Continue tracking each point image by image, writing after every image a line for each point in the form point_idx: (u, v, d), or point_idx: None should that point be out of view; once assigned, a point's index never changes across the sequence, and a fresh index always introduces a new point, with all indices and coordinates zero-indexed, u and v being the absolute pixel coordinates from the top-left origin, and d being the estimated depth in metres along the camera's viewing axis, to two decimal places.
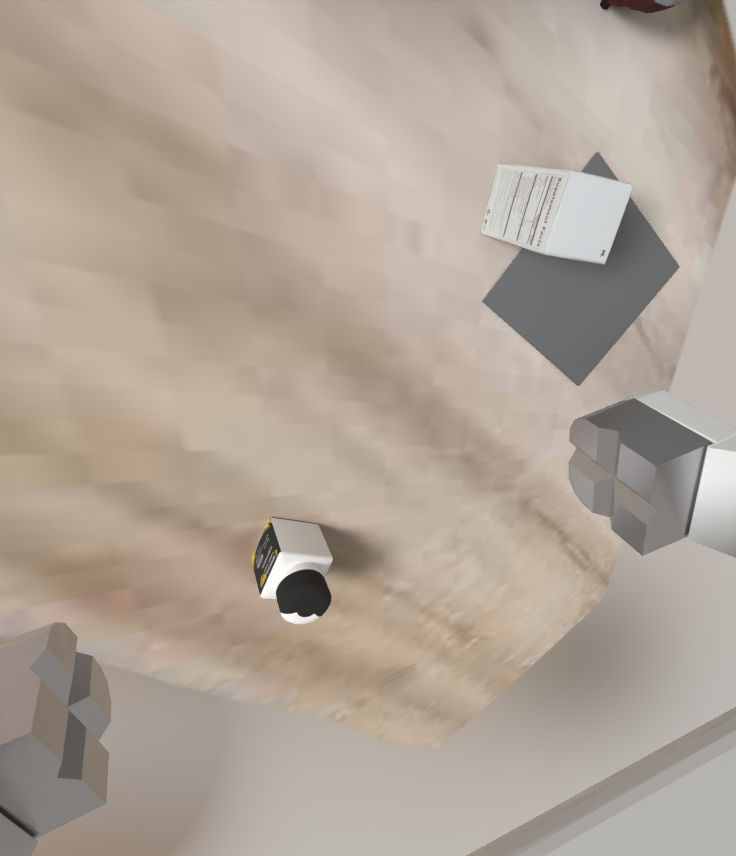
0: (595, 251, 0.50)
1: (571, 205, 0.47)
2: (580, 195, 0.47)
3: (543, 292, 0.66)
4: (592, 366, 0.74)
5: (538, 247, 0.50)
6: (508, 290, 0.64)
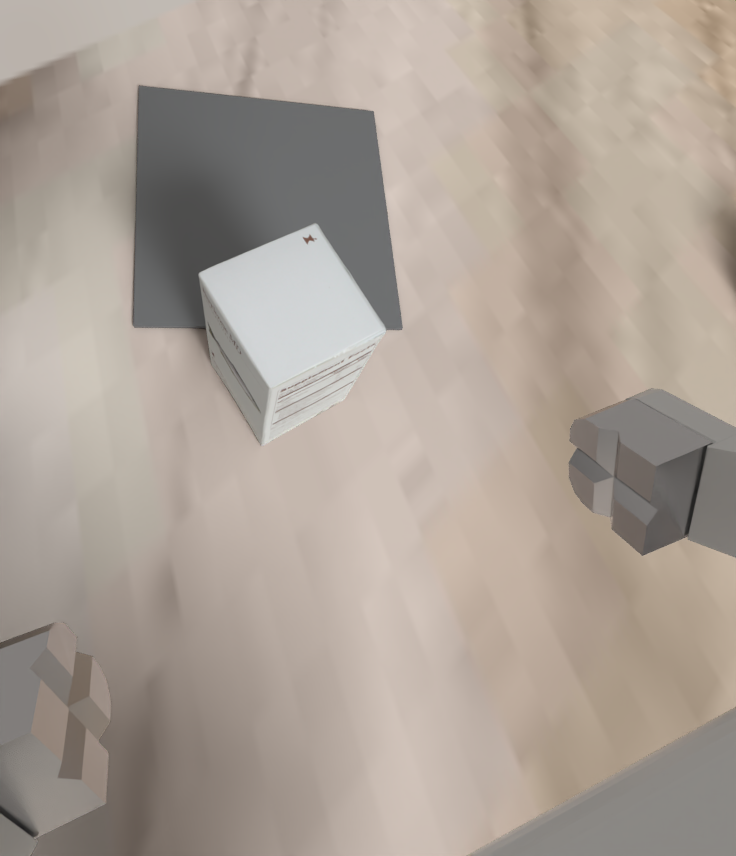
0: (318, 253, 0.28)
1: (305, 348, 0.27)
2: (283, 344, 0.27)
3: None
4: (339, 111, 0.48)
5: (376, 342, 0.29)
6: None
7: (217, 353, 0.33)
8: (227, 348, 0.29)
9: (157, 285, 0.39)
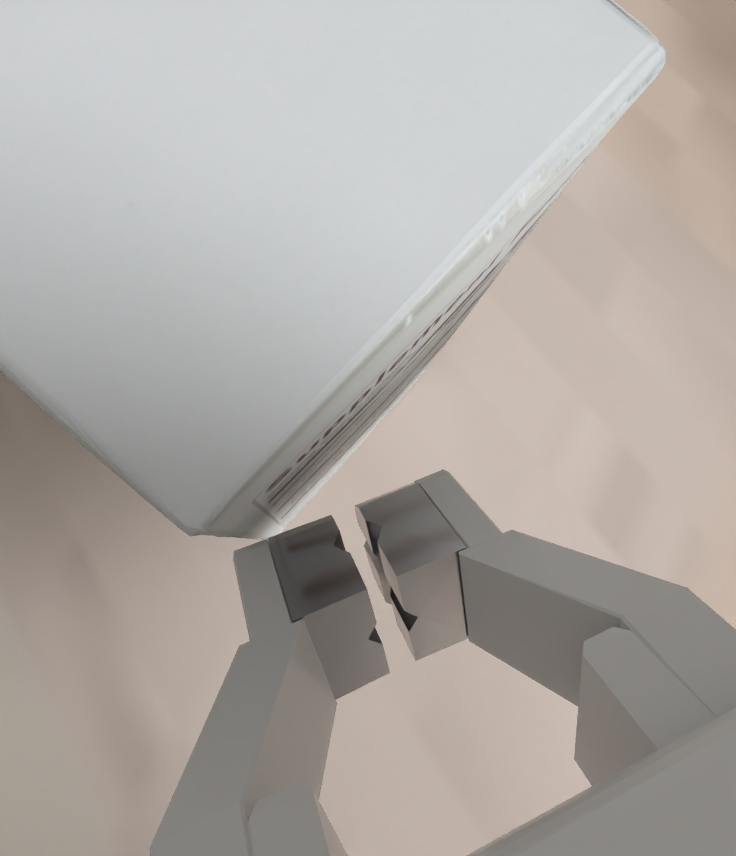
0: None
1: (327, 231, 0.05)
2: (195, 245, 0.04)
3: None
4: None
5: (596, 144, 0.07)
6: None
7: None
8: None
9: None
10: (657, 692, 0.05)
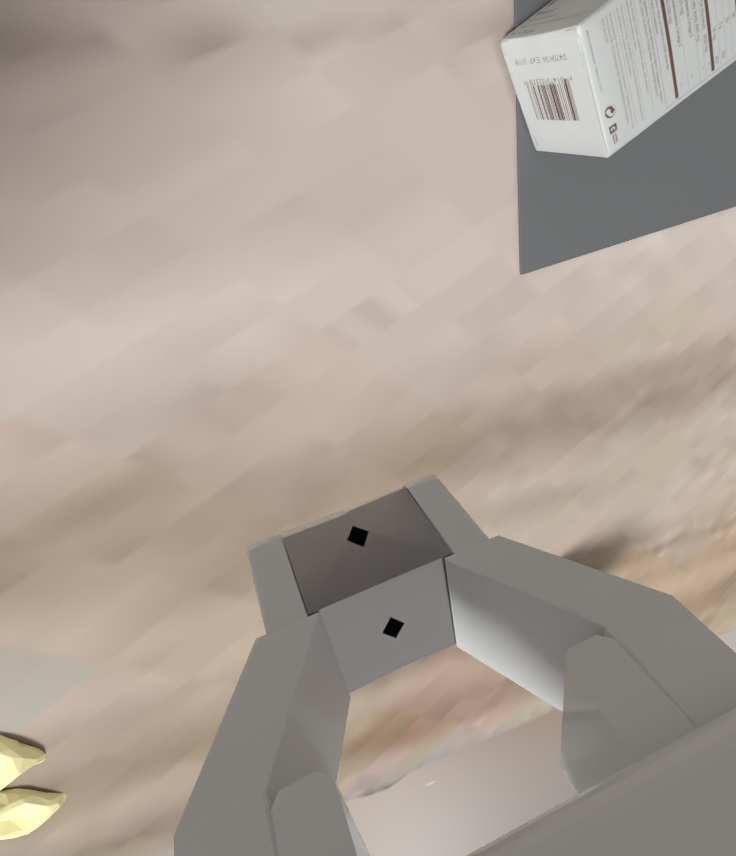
0: None
1: None
2: None
3: (593, 177, 0.39)
4: None
5: None
6: (543, 229, 0.40)
7: None
8: None
9: None
10: (638, 701, 0.05)
